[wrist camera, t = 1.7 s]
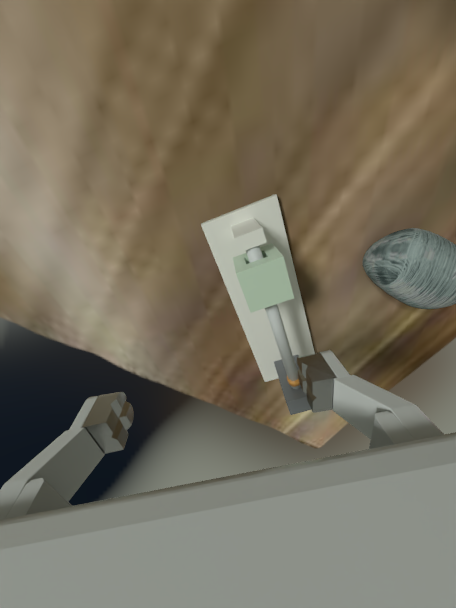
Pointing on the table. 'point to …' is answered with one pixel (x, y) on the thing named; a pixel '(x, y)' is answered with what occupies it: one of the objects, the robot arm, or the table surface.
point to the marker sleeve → (264, 279)
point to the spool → (414, 268)
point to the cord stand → (272, 320)
